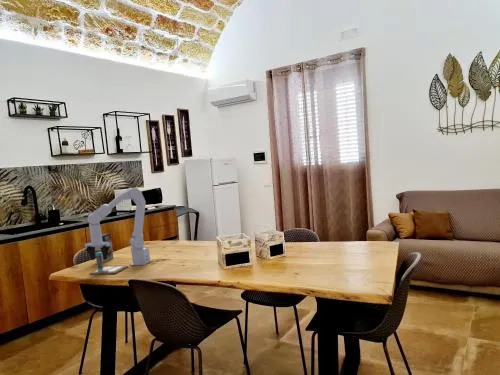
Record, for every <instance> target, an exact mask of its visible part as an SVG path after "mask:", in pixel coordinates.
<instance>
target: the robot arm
mask: <svg viewBox="0 0 500 375" xmlns="http://www.w3.org/2000/svg"><path fill="white" fill-rule="evenodd" d="M125 200H126V201H127V200H132V201H133V202H134V204H135V206H136V207H135V214H134V224H133V231H132V234H131V237H130V238H129V245H130V246H131V247H130V251H131V252H130V253H131V258H132V263H130V264H129V266H145V265H147V264H148V263H150V262H152V260H151V257H150V254H151V253H150V250H149V248H147V247H145V241H144V234H143V232H144V231H143V230H144V229H143V228H144V222H145V221H144V220H145V213H146V212H145V210H146V204H147V202H146V200H145V197H144V195H143V192H142V191H141V190H140V189H138V188H137V187H129V188H127V189H126V190H123V191H122V192H121V193H120V194H118V195H117V196H116V197H115V198H114V199H112V200H111V201H110V202H109V203H108V204H107V203H104V204H101V205H100V206H99V208H97V209H96V210H93V211H92V213H90V214H89V215H88V216H87V220H86V221H87V222H88V227H89V234H90V235H89V236H90V242H88V243H84V248H85V251H86V252H87V253H88V255H89V257H90V259H91V261H95V260H96V255H95V253H96V251H95V247H100V246H103V247H101V248H100V249H101V251H102V254H103V259H104V260H105V259H107V254H108V250H109V248H110V242H103V241H102V234H103V233H102V227H101V224H100V222H101V221H102V220H103V219H104V218H105V217H107V216H108V215H109V214H111V213H112V210H113V209H114V208H115V207H116V206H118V204H120V203H121V202H123V201H125Z"/></svg>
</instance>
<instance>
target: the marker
mask: <svg viewBox="0 0 500 375" xmlns="http://www.w3.org/2000/svg"><path fill="white" fill-rule="evenodd" d="M95 260H96V266H97V269H98V271H100V270H103V267H104V265H103V262H102V256H101V252H97V253H96V252H95Z"/></svg>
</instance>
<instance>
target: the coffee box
mask: <svg viewBox="0 0 500 375" xmlns="http://www.w3.org/2000/svg"><path fill="white" fill-rule="evenodd" d="M101 234H102V241H103V242H110V248H109V250H108V254H107V259H105V260H104V259H103V254H102V251H101V249H100V248H101V247H103V246H100V247H95V253H97V252H101V256H102V263H105V262H107V261H110V260H112V259H114V251H113V242H112V235H111V233H110V232H109V233H108V232H107V233H101Z"/></svg>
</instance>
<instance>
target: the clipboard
mask: <svg viewBox="0 0 500 375" xmlns="http://www.w3.org/2000/svg"><path fill="white" fill-rule="evenodd" d="M128 268H129V265H110V266H107V265H106V266H105V265H103V270H100V271H98V268H97V269H95V270H93V271H92V272H90V273H89V275H94V274H95V275H116V274H118V273H120V272H122V271H124V270H126V269H128Z"/></svg>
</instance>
